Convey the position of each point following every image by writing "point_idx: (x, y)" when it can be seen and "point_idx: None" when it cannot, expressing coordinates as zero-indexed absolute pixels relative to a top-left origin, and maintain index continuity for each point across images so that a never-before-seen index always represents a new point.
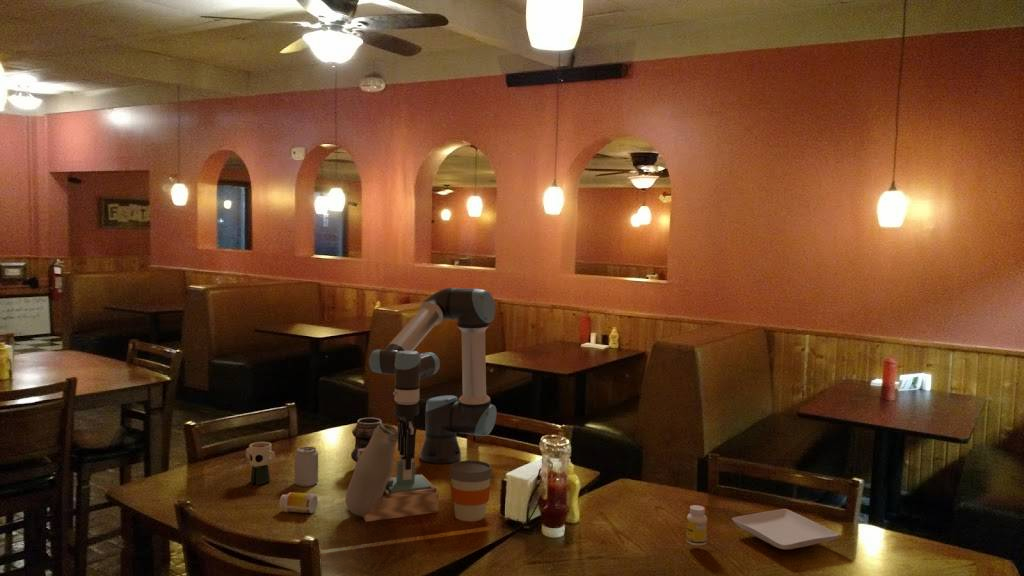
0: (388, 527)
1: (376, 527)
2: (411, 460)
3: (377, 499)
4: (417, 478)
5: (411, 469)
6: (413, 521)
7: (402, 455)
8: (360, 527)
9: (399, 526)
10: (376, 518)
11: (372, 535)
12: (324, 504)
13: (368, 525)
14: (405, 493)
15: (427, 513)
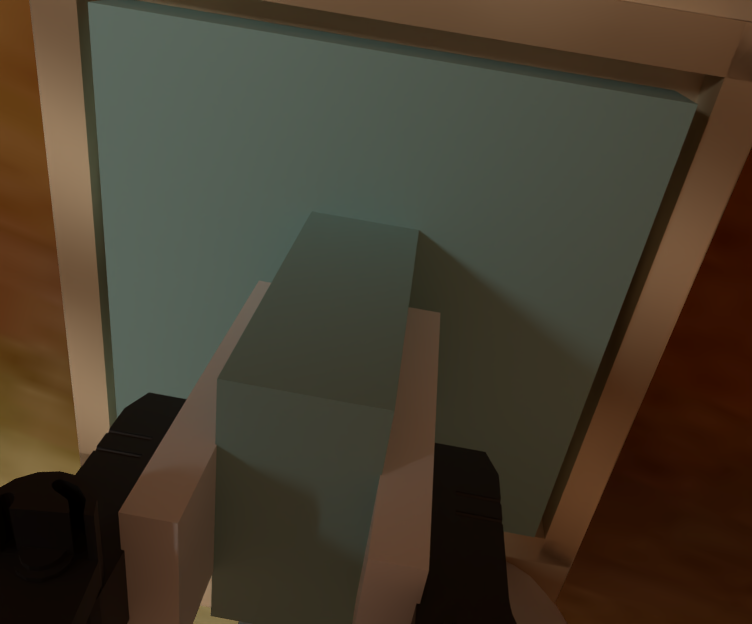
0: (702, 479)
1: (646, 528)
2: (426, 533)
3: (564, 619)
4: (264, 110)
5: (433, 403)
6: (737, 300)
7: (135, 614)
8: (581, 586)
9: (744, 420)
10: None
11: (745, 587)
12: None
13: (582, 547)
14: (625, 422)
15: None
